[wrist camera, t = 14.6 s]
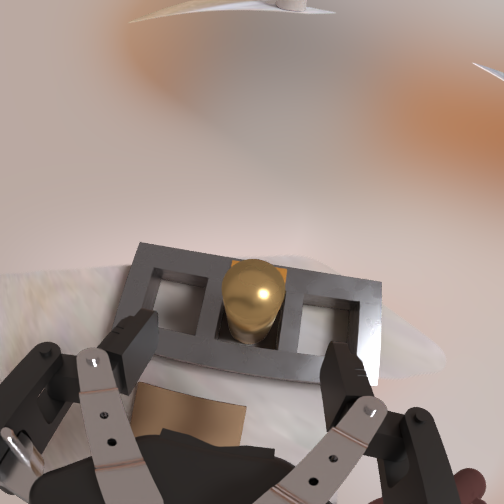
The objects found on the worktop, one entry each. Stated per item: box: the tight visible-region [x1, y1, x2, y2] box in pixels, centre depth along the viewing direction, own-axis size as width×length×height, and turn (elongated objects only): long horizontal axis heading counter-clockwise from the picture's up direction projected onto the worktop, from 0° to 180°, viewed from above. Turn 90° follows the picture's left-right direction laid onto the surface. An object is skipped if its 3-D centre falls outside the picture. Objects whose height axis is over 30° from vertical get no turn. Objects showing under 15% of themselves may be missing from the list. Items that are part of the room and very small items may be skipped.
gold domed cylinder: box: [222, 259, 285, 344], centre depth 22 cm, size 4×4×10 cm
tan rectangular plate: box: [130, 382, 247, 447], centre depth 21 cm, size 10×8×1 cm
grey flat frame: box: [111, 242, 382, 386], centre depth 25 cm, size 24×10×3 cm, turn 80°
